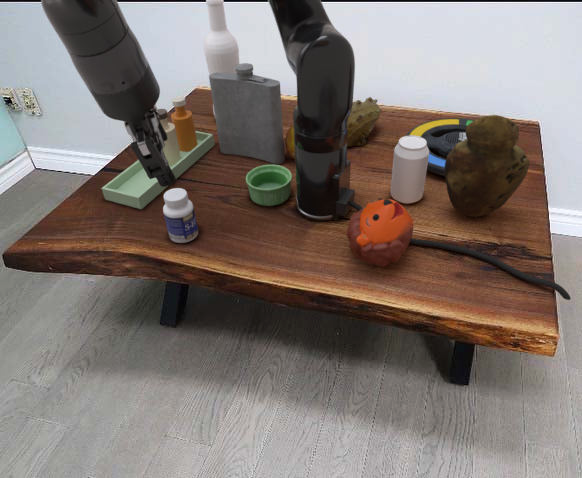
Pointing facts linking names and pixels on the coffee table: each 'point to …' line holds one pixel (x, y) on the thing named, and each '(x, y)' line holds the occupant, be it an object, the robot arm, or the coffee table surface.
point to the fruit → (290, 142)
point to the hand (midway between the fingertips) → (164, 161)
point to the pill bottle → (179, 216)
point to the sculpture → (485, 166)
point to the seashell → (362, 121)
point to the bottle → (220, 42)
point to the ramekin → (269, 184)
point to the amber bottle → (183, 125)
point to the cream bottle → (170, 139)
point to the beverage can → (409, 169)
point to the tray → (142, 190)
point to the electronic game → (441, 139)
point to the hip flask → (248, 114)
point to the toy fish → (380, 232)
